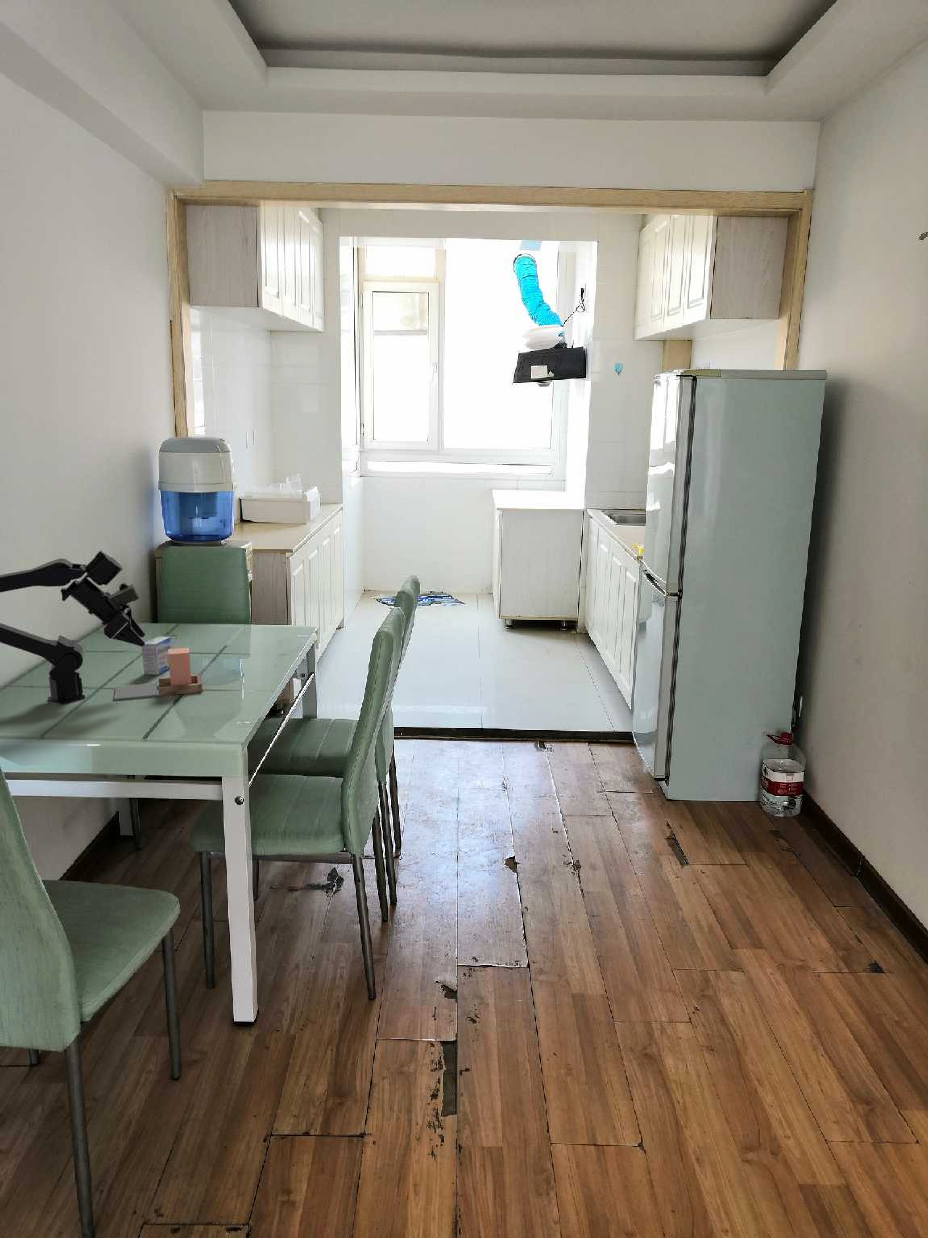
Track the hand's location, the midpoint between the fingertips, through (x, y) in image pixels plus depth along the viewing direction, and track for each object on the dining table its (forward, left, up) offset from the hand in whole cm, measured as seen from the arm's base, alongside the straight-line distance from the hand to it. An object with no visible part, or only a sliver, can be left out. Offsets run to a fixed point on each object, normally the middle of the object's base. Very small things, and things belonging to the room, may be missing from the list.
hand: (143, 640), depth 232 cm
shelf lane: (+6, -5, -13) cm, 16 cm away
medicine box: (+12, +13, -14) cm, 22 cm away
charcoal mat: (-3, +1, -13) cm, 14 cm away
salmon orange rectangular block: (+6, -5, -13) cm, 16 cm away
